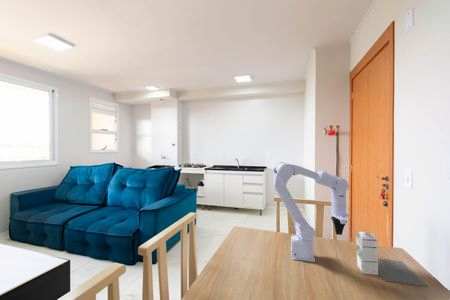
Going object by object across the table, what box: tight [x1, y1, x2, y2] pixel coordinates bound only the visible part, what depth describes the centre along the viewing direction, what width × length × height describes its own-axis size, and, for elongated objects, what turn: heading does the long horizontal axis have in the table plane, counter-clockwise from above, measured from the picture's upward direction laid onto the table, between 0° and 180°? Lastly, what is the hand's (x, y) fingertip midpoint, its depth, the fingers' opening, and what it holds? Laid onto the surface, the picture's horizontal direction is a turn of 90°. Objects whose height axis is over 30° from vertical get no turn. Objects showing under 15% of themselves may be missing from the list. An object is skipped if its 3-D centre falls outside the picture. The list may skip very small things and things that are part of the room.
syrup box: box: [355, 231, 379, 276], centre depth 83 cm, size 6×6×14 cm
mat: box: [378, 258, 428, 287], centre depth 82 cm, size 13×16×1 cm
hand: (338, 234), depth 93 cm, fingers closed
